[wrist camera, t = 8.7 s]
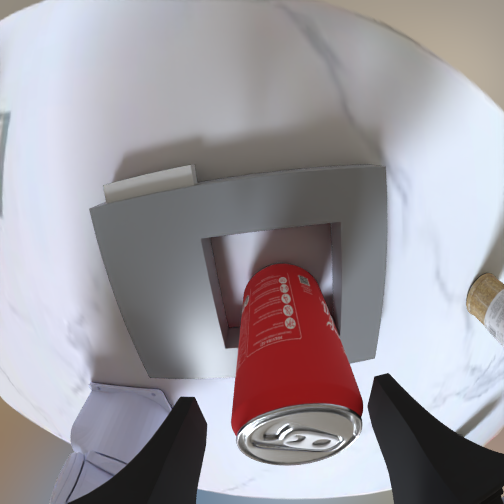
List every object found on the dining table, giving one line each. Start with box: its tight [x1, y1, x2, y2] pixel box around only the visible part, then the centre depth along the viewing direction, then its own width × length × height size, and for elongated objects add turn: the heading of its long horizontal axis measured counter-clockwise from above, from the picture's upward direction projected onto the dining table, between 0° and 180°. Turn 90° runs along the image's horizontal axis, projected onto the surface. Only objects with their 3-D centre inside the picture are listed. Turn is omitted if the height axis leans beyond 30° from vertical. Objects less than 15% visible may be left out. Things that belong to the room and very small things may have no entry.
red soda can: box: [231, 263, 363, 465], centre depth 14 cm, size 5×5×12 cm
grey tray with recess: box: [89, 164, 387, 379], centre depth 18 cm, size 18×15×2 cm
